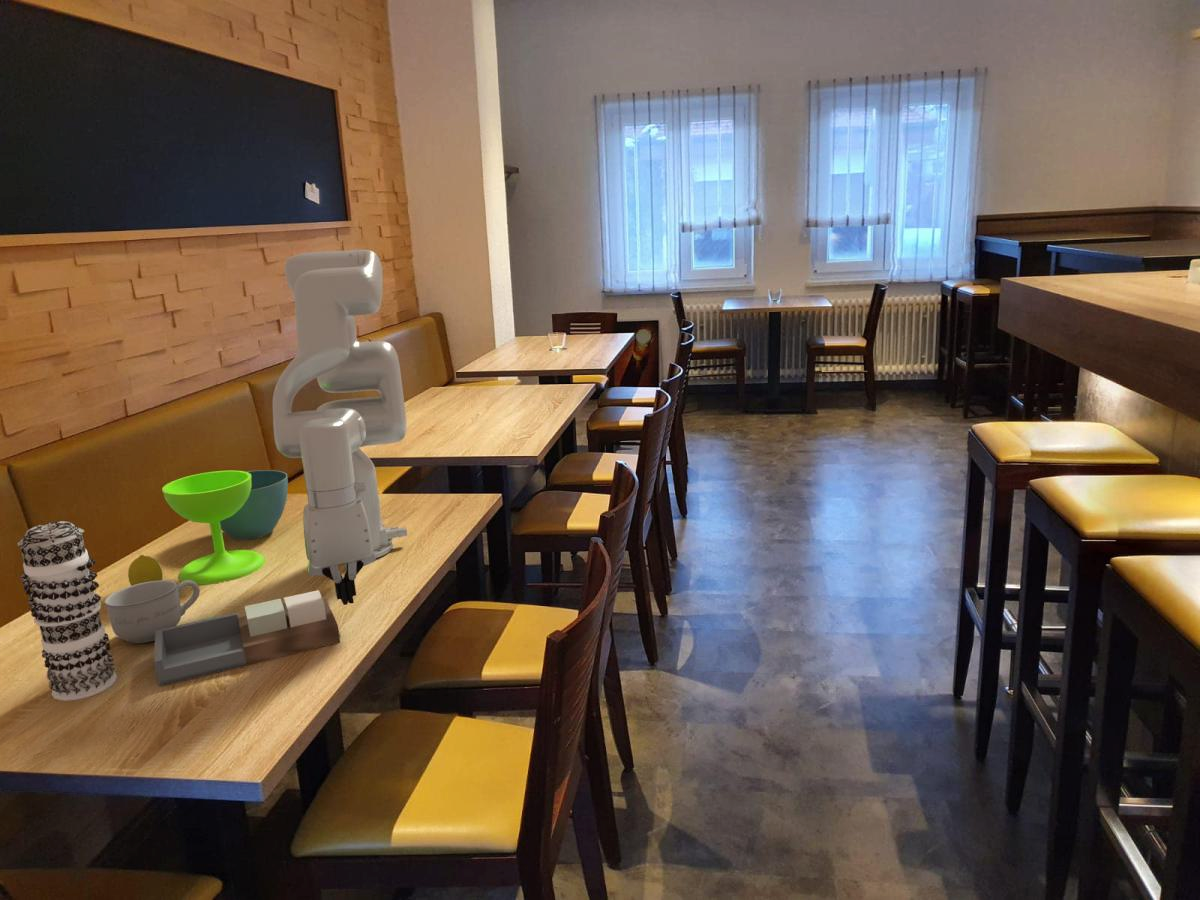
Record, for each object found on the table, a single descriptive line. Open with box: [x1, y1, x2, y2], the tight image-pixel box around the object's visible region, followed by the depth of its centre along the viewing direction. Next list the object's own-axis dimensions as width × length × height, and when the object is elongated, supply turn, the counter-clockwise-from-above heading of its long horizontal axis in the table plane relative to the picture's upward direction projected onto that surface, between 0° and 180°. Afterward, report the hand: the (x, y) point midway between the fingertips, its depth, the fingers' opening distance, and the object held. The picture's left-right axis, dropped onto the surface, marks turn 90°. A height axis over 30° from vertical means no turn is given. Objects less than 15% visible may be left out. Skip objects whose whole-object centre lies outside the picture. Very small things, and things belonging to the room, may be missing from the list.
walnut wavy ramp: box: [238, 597, 341, 666], centre depth 139 cm, size 14×12×3 cm
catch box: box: [153, 611, 247, 688], centre depth 133 cm, size 12×12×4 cm
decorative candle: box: [17, 520, 118, 702], centre depth 124 cm, size 9×9×25 cm
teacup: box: [104, 579, 201, 644], centre depth 143 cm, size 14×11×8 cm
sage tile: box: [244, 598, 287, 637], centre depth 137 cm, size 6×6×3 cm
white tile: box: [283, 589, 326, 627], centre depth 139 cm, size 6×6×3 cm
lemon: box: [127, 554, 164, 586], centre depth 159 cm, size 6×6×8 cm
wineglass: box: [161, 470, 266, 585], centre depth 169 cm, size 16×16×18 cm
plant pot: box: [220, 469, 289, 541], centre depth 189 cm, size 18×18×12 cm
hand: (347, 601), depth 142 cm, fingers closed
